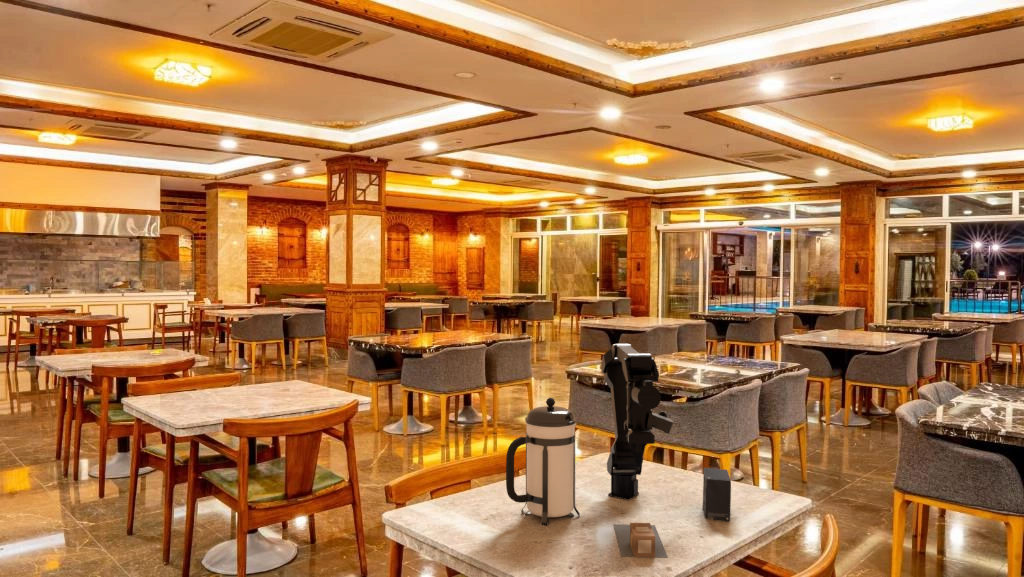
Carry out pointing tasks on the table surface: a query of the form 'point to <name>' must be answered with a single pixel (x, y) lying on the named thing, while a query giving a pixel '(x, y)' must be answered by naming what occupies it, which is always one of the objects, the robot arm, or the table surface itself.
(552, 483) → the coffee press
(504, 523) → the table surface
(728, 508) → the small box
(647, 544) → the brown rectangular block
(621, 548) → the mat
